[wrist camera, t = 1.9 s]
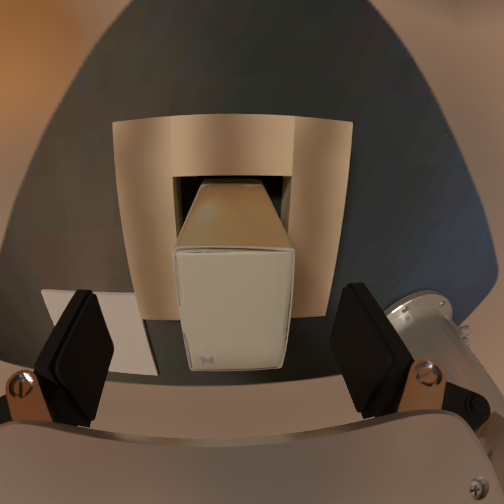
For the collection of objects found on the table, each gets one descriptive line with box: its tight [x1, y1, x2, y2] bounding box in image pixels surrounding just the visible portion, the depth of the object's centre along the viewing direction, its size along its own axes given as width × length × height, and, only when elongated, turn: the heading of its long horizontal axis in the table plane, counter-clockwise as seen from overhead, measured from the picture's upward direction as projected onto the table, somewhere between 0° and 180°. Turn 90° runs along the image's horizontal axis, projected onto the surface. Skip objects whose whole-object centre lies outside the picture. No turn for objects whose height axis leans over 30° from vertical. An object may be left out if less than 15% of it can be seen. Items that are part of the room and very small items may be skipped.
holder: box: [113, 114, 353, 320], centre depth 20 cm, size 15×15×3 cm
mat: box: [41, 289, 158, 375], centre depth 26 cm, size 11×11×1 cm
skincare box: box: [172, 178, 295, 371], centre depth 16 cm, size 6×4×12 cm
